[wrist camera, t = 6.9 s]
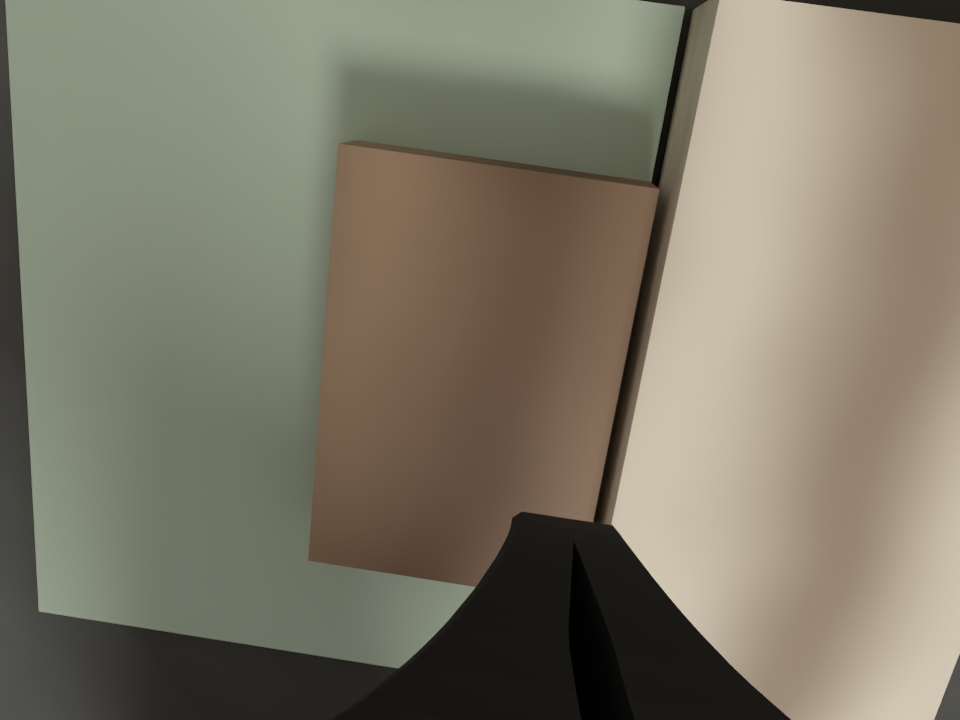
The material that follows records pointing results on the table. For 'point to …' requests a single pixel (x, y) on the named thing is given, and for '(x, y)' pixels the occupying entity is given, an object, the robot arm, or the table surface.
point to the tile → (468, 353)
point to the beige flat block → (804, 358)
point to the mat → (254, 272)
